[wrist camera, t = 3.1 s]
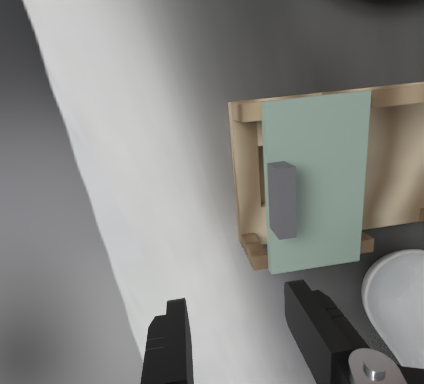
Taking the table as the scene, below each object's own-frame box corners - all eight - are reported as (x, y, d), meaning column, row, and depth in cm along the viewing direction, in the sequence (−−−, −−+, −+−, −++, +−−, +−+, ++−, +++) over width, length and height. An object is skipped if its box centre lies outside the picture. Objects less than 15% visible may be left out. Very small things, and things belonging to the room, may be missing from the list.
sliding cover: (268, 268, 28) (280, 290, 24) (261, 101, 23) (275, 100, 19) (353, 255, 28) (376, 275, 25) (363, 90, 23) (394, 88, 20)
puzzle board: (238, 240, 34) (253, 272, 28) (228, 102, 29) (242, 100, 23) (416, 214, 36) (471, 238, 29) (434, 80, 31) (505, 72, 24)
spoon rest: (346, 248, 37) (384, 279, 30) (428, 230, 38) (483, 257, 31) (349, 376, 44) (380, 425, 37) (417, 360, 45) (460, 405, 38)
